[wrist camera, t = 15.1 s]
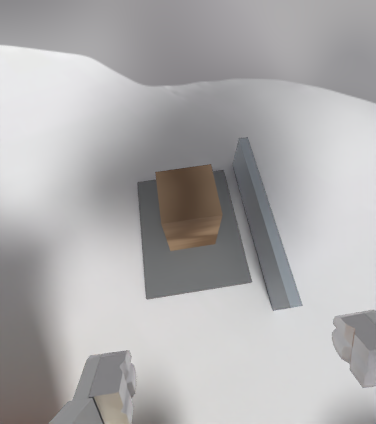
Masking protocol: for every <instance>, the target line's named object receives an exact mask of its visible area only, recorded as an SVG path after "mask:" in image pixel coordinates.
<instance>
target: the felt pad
mask: <svg viewBox="0 0 376 424" xmlns="http://www.w3.org/2000/svg"><path fill="white" fill-rule="evenodd" d="M213 175H214V180H215V184H216V188H217V193H218V197H219V201H220V206H221V210H222V214H223V215H222V219H221V223H220V227H219V231H218V235H217V239H216V243H215V244H213V245H206V246H200V247H193V248H187V249H180V250H174V251H170V248H169V245H168V242H167V239H166V236H165V233H164V231H163V228H162V225H161V217H160V209H159V200H158V191H157V182H156V180H151V181H144V182H138V195H139V209H140V222H141V235H142V249H143V262H144V275H145V289H146V299H153V298H159V297H165V296H172V295H178V294H184V293H190V292H196V291H202V290H209V289H215V288H221V287H227V286H233V285H240V284H246V283H251V282H252V279H251V276H250V272H249V268H248V264H247V260H246V256H245V252H244V248H243V244H242V240H241V236H240V232H239V229H238V225H237V221H236V217H235V213H234V209H233V205H232V201H231V197H230V193H229V189H228V185H227V182H226V178H225V174H224V170H221V171H214V172H213Z"/></svg>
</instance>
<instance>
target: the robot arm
mask: <svg viewBox="0 0 376 424" xmlns="http://www.w3.org/2000/svg"><path fill="white" fill-rule="evenodd" d="M333 324H334V326H335V327H336V329H335V330H334V331H333V332H332V341H333V345H334V348H335V350H336V352H337V353H338V355H339V356H340V357H341V359H343V360H344V361H346V362H348V363H349V364H350V371H351V372H352V374H353V375H354V376H355V378H356V379H357V381H358V382H359V383H360V385H361V386H362V387H363V388H366V387H373V386H376V311H375V310H369V311H363V312H356V313H351V314H345V315H339V316H335V318H334V320H333ZM131 358H132V356H131V353H130V351H129V350H126V351H119V352H112V353H104V354H98V355H91V356H89V358H88V359H87V360H86V363H85V366H84V369H83V372H82V375H81V377H80V380H79V383H78V386H77V389H76V392H75V394H74V397H73V400H72V401H69V402H67V403H66V405H65V406H64V407H63V408H62V409H61V410H60V411H59V412H58V413H57V415H56V416H55V417H54V418H53V419H52V420H51V421H50V422H49V423H48V424H131V423H132V415H133V408H134V406H133V402H132V397H133V396H134V394H135V392H136V370H135V366H134V365H133V364H132V363H131Z"/></svg>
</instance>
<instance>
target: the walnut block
mask: <svg viewBox="0 0 376 424" xmlns="http://www.w3.org/2000/svg"><path fill="white" fill-rule="evenodd" d="M155 173H156V182H157V191H158V200H159V209H160V217H161V225H162V228H163V231H164V233H165V236H166V239H167V242H168V245H169V248H170V251H174V250H180V249H187V248H193V247H200V246H206V245H213V244H215V243H216V239H217V235H218V231H219V227H220V223H221V219H222V215H223V214H222V210H221V206H220V201H219V197H218V193H217V188H216V184H215V180H214V175H213V171H212V167H211V164H210V165H203V166H196V167H188V168H181V169H174V170H167V171H160V172H155Z"/></svg>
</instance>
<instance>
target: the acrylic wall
mask: <svg viewBox="0 0 376 424" xmlns="http://www.w3.org/2000/svg"><path fill="white" fill-rule="evenodd" d="M233 168H234V171H235V175H236V179H237V182H238V186H239V189H240V193H241V197H242V200H243V204H244V207H245V211H246V215H247V218H248V222H249V225H250V229H251V233H252V236H253V240H254V243H255V247H256V251H257V254H258V258H259V262H260V265H261V269H262V272H263V276H264V280H265V283H266V287H267V290H268V294H269V298H270V301H271V305H272V308H273V311H274V310H280V309H286V308H292V307H298V306H303V305H302V302H301V299H300V296H299V293H298V290H297V287H296V284H295V281H294V278H293V275H292V272H291V269H290V265H289V262H288V259H287V256H286V253H285V250H284V247H283V244H282V241H281V238H280V235H279V232H278V229H277V226H276V223H275V220H274V217H273V214H272V210H271V207H270V204H269V201H268V198H267V195H266V192H265V189H264V186H263V183H262V180H261V177H260V174H259V171H258V168H257V165H256V162H255V159H254V155H253V152H252V149H251V146H250V143H249V140H248V137H246V138H239V140H238V144H237V149H236V153H235V157H234V161H233Z"/></svg>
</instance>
